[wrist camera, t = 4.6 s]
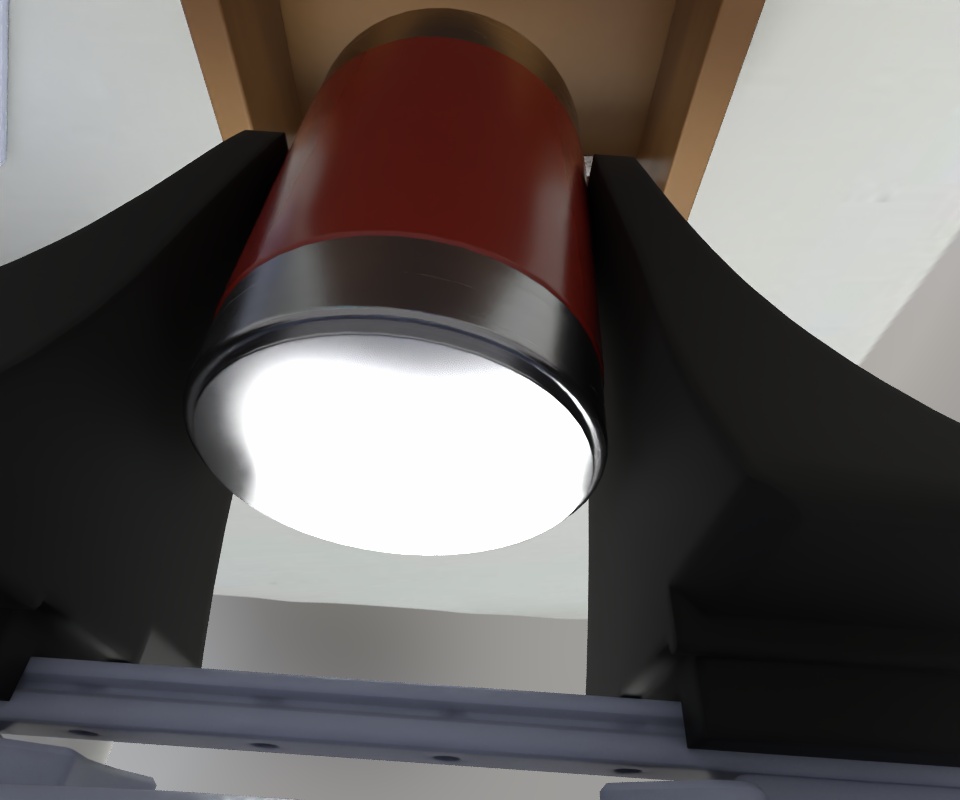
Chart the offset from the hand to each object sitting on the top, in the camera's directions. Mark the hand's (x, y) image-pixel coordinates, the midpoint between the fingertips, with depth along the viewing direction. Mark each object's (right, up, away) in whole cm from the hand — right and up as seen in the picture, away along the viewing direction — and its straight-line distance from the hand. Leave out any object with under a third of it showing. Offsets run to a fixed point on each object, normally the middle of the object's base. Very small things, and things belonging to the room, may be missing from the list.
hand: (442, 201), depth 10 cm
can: (0, +1, +1) cm, 2 cm away
